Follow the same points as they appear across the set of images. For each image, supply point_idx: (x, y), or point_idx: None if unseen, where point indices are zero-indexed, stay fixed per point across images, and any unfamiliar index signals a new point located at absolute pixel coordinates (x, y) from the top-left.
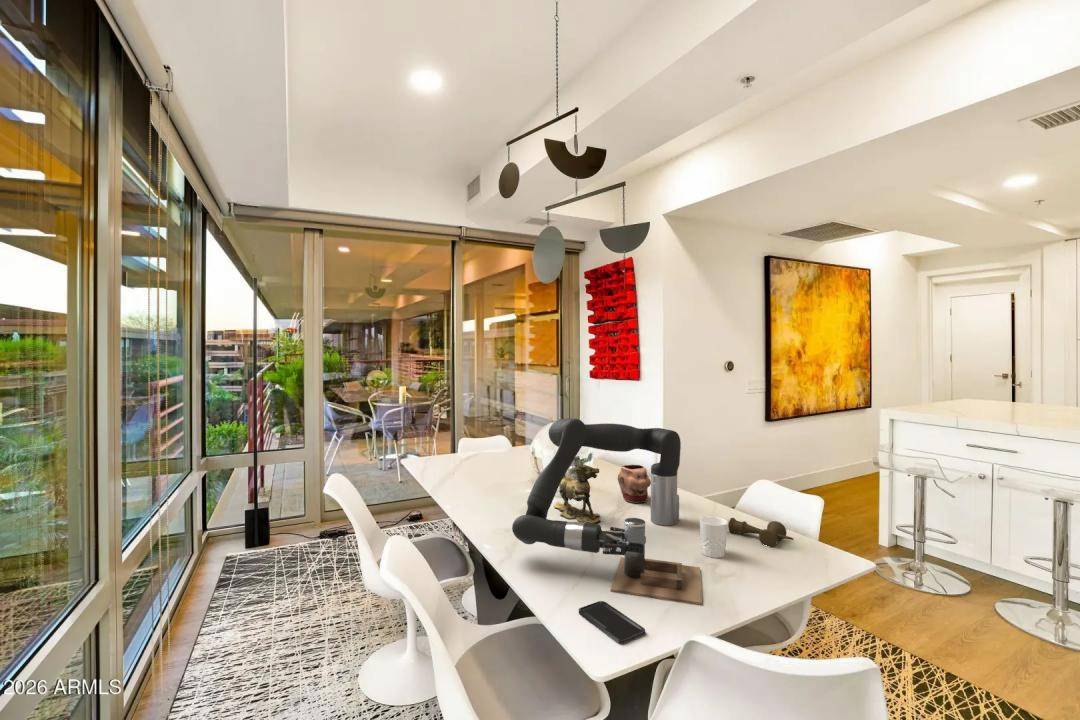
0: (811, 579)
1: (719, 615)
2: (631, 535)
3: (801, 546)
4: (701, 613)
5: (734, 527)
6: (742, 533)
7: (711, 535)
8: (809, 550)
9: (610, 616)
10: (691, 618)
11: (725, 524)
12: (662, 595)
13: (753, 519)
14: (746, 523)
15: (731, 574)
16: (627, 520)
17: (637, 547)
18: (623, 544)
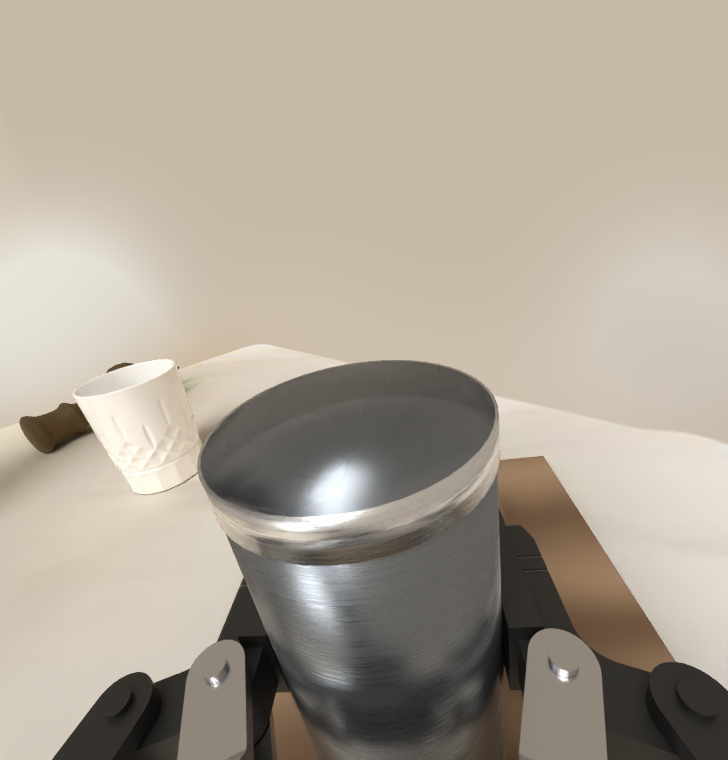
0: (315, 365)
1: (570, 431)
2: (499, 542)
3: (181, 378)
4: (599, 460)
5: (56, 429)
6: (85, 427)
7: (176, 408)
8: (200, 372)
9: None
10: (665, 476)
11: (171, 360)
12: (599, 565)
13: (4, 428)
14: (71, 404)
15: None
16: (327, 481)
17: (538, 554)
18: (693, 693)
